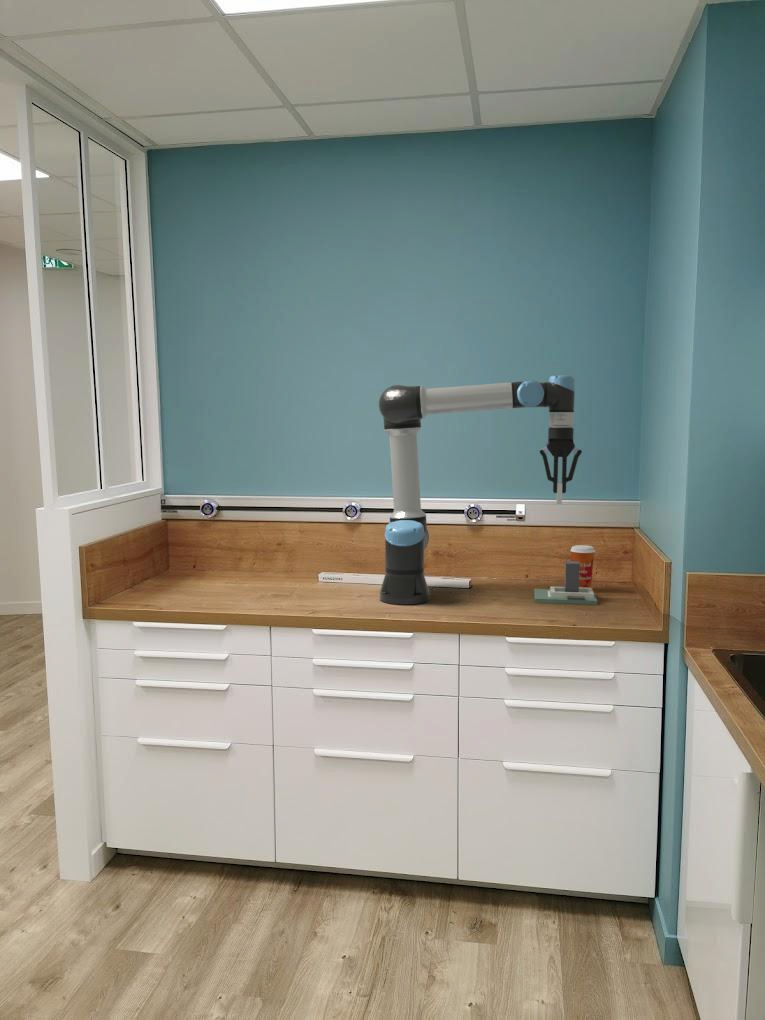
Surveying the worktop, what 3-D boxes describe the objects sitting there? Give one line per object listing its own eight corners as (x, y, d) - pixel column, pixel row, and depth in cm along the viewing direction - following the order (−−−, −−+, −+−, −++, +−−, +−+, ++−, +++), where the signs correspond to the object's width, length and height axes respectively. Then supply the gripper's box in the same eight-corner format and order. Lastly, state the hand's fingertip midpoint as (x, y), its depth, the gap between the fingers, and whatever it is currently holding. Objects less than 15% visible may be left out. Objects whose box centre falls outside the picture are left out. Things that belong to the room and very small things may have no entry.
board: (534, 602, 243) (535, 593, 243) (534, 592, 257) (534, 584, 257) (597, 604, 240) (597, 595, 240) (593, 594, 254) (593, 585, 254)
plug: (565, 596, 246) (565, 563, 245) (564, 592, 251) (565, 560, 250) (578, 596, 246) (579, 563, 244) (577, 593, 250) (578, 561, 249)
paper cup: (566, 591, 259) (567, 547, 257) (572, 586, 265) (573, 544, 264) (591, 593, 255) (592, 549, 253) (596, 589, 262) (598, 545, 260)
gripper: (539, 427, 246) (537, 504, 249) (583, 427, 244) (581, 505, 247) (539, 426, 253) (537, 502, 256) (582, 426, 251) (580, 502, 254)
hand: (559, 503), depth 251 cm, fingers closed
